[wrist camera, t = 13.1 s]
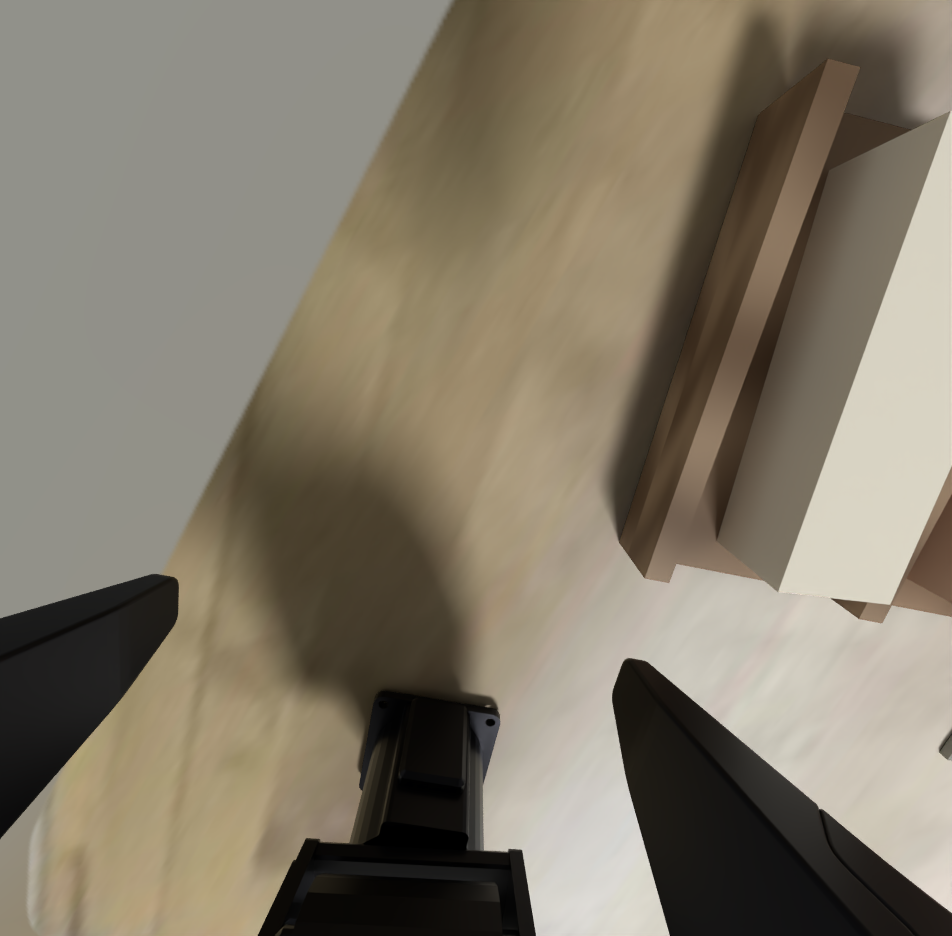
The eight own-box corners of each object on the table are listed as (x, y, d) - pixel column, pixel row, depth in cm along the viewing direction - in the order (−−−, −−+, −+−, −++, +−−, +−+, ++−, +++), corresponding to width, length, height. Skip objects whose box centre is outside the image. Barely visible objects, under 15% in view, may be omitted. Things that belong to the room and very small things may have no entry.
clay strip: (806, 551, 19) (889, 604, 15) (716, 540, 19) (777, 592, 15) (941, 186, 15) (1098, 134, 11) (829, 170, 15) (950, 111, 11)
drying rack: (995, 615, 21) (1083, 661, 18) (618, 542, 20) (644, 578, 17) (1230, 234, 17) (1401, 210, 14) (758, 114, 16) (827, 58, 12)
